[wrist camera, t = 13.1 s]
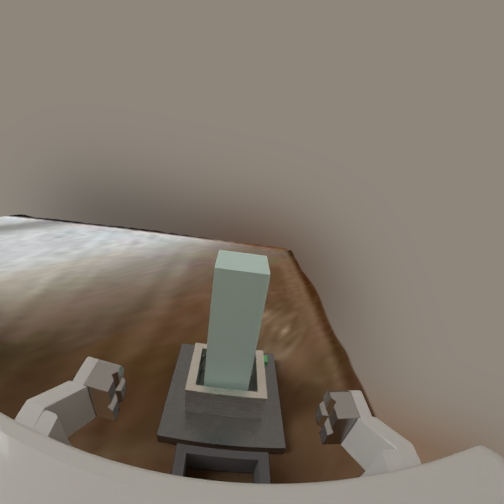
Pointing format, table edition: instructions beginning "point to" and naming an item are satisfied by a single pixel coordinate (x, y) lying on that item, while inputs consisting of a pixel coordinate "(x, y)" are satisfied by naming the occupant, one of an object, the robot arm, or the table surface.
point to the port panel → (223, 407)
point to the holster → (222, 461)
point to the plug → (235, 318)
